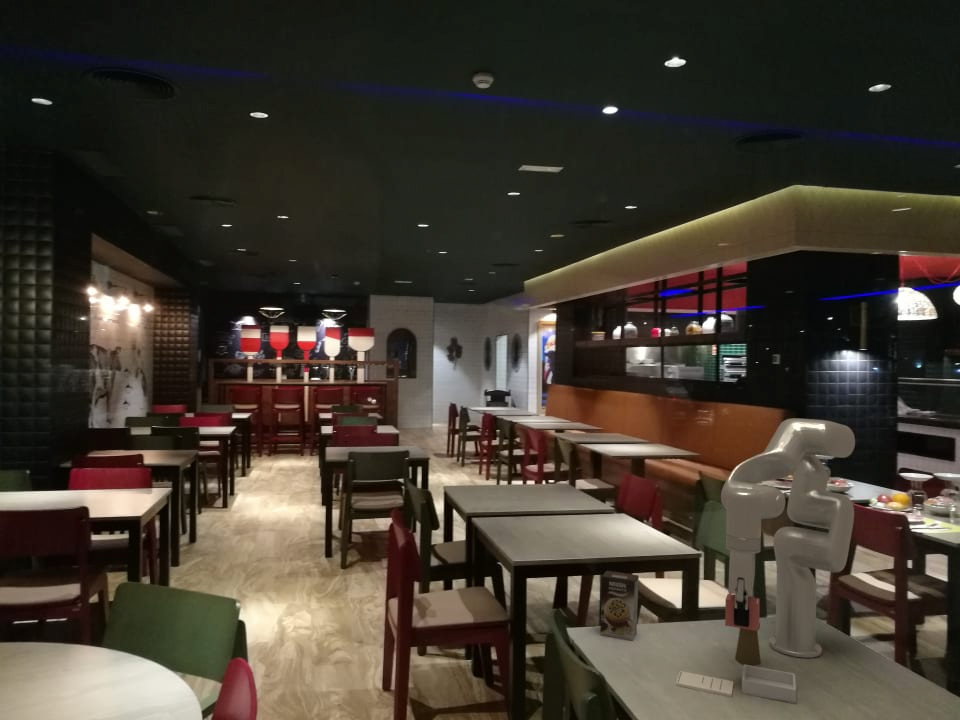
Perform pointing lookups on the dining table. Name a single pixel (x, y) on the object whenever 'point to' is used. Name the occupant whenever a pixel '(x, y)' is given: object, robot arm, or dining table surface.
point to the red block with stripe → (753, 612)
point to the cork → (748, 648)
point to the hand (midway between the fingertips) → (742, 621)
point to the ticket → (705, 683)
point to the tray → (769, 684)
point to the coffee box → (619, 605)
